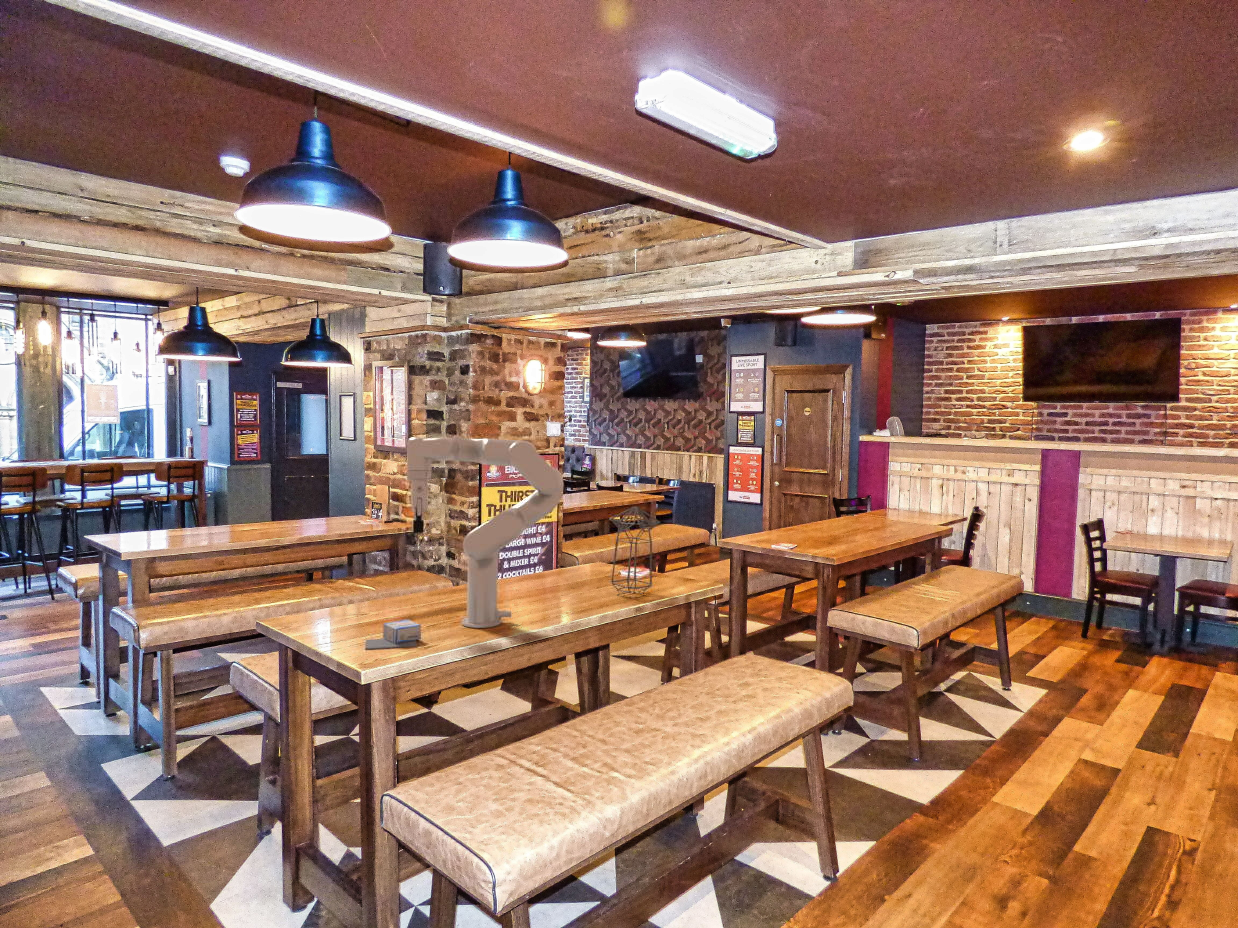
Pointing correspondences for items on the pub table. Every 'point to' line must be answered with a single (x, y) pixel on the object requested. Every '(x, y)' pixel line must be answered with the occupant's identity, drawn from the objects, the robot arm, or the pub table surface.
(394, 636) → the medicine box
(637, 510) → the geometric lantern
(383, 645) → the charcoal mat
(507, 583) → the pub table surface
